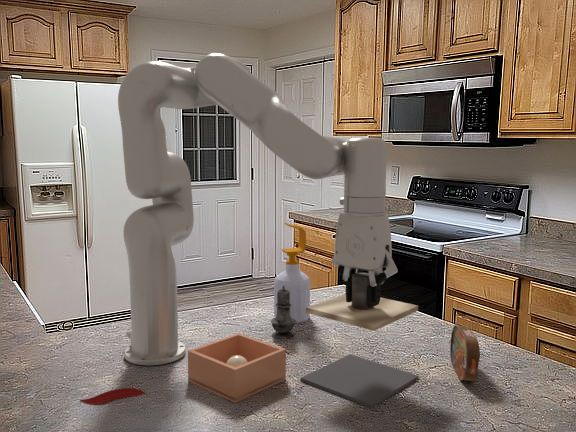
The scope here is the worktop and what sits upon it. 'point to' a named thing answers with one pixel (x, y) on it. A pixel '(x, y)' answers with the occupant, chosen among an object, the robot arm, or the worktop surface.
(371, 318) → the lid
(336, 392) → the mat
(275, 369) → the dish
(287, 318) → the salt shaker
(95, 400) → the cayenne pepper
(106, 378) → the worktop surface
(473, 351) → the tin
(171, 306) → the robot arm
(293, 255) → the soap bottle
